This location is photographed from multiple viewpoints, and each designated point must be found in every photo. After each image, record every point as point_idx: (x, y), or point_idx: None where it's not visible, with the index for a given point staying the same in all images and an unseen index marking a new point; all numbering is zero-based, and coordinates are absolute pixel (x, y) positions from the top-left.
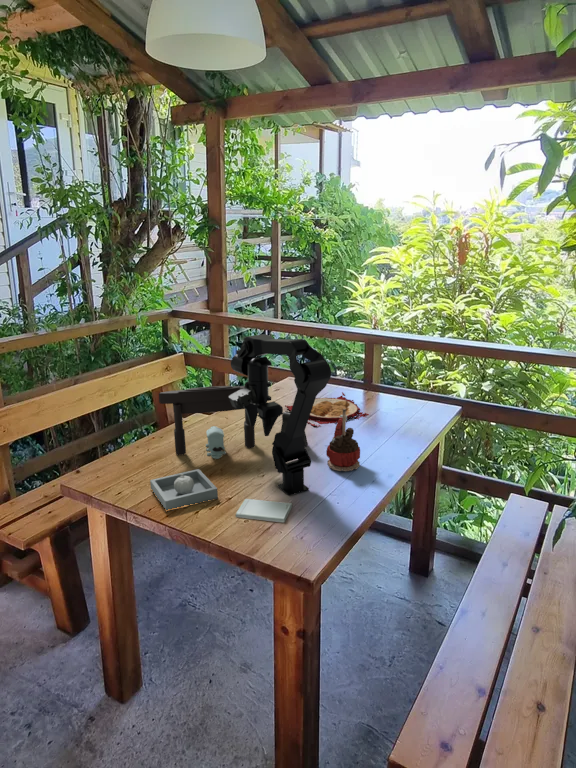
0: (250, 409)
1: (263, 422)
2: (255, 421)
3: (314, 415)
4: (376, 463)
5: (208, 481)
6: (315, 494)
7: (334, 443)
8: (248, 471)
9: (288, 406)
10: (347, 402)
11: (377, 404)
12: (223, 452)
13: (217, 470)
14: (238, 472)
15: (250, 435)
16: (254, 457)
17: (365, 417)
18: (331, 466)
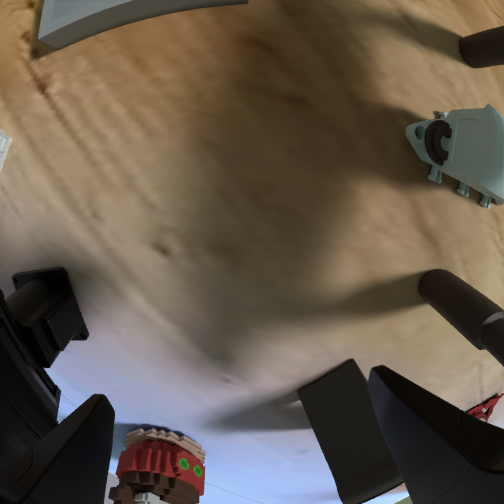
0: (457, 488)
1: (14, 476)
2: (379, 419)
3: None
4: None
5: (102, 4)
6: None
7: (115, 490)
8: (227, 204)
9: (498, 398)
10: None
11: (397, 492)
12: (435, 172)
13: (297, 82)
14: (235, 159)
15: (449, 307)
16: (350, 272)
17: None
18: (148, 433)
